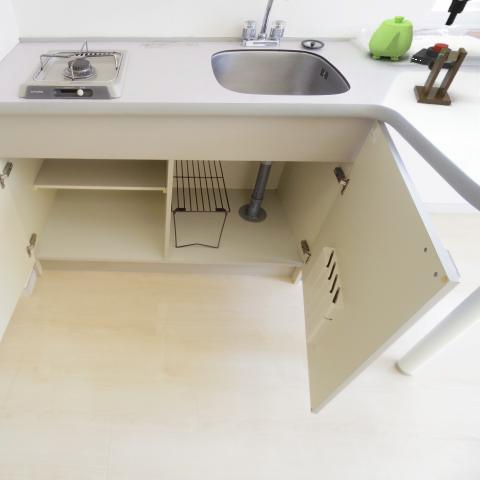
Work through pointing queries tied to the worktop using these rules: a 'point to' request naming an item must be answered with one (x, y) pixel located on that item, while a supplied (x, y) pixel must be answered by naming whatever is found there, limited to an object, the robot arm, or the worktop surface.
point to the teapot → (392, 38)
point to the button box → (428, 57)
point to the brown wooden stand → (440, 93)
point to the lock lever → (450, 59)
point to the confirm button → (439, 46)
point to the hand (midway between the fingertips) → (448, 24)
